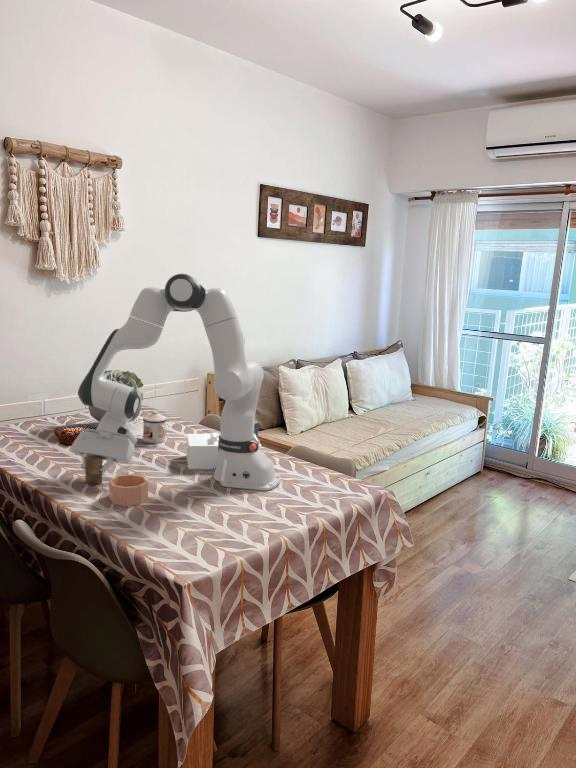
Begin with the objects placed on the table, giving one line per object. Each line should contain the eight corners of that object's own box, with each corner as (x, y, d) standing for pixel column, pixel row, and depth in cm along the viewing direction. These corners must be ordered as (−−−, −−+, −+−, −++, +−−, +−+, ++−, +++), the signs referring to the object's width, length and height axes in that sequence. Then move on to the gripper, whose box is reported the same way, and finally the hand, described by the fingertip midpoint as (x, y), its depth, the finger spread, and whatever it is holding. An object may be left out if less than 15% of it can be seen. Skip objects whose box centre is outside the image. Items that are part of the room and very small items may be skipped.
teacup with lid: (138, 439, 231) (138, 410, 229) (158, 435, 237) (159, 407, 235) (154, 447, 222) (154, 417, 220) (174, 443, 229) (175, 414, 226)
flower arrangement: (123, 439, 229) (124, 378, 224) (70, 429, 237) (70, 370, 232) (157, 424, 252) (158, 368, 247) (108, 416, 260) (108, 361, 255)
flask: (254, 441, 238) (255, 416, 235) (259, 443, 236) (261, 417, 234) (239, 446, 230) (240, 420, 228) (244, 448, 228) (246, 421, 226)
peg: (105, 481, 186) (105, 457, 184) (96, 486, 181) (96, 462, 180) (91, 479, 187) (91, 455, 186) (82, 484, 183) (81, 459, 181)
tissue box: (186, 456, 216) (187, 427, 213) (253, 455, 221) (255, 427, 219) (188, 470, 202) (189, 439, 200) (260, 469, 207) (261, 439, 205)
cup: (153, 495, 178) (153, 478, 177) (134, 508, 168) (135, 489, 167) (122, 489, 181) (122, 472, 180) (103, 501, 171) (103, 483, 170)
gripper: (78, 422, 190) (59, 460, 183) (134, 431, 185) (117, 470, 178) (87, 432, 196) (68, 469, 188) (141, 441, 190) (124, 479, 183)
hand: (92, 470), depth 183 cm, fingers closed on peg, 5 cm apart
